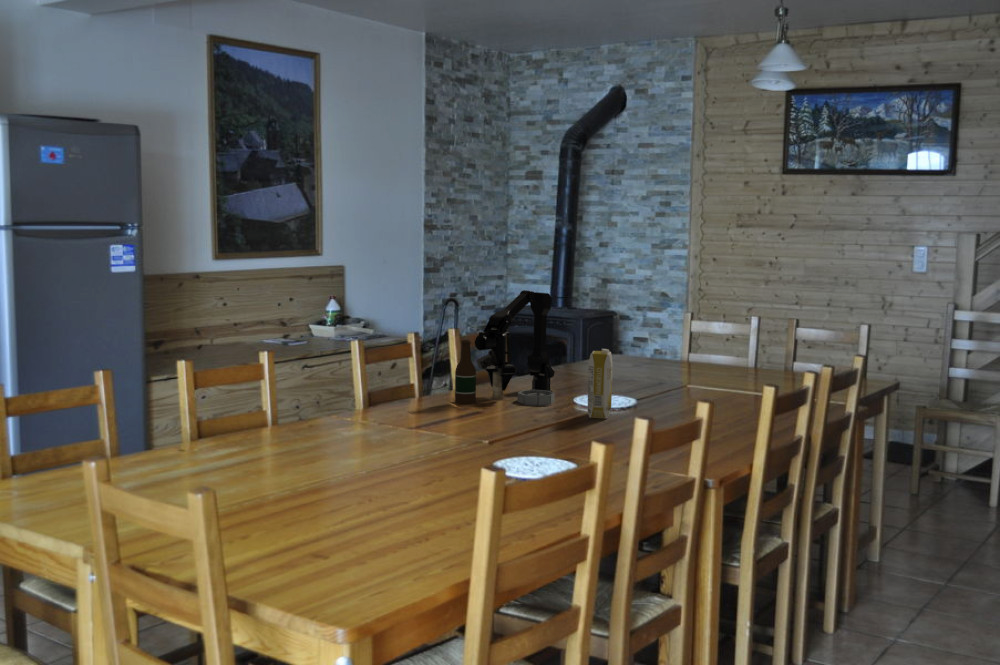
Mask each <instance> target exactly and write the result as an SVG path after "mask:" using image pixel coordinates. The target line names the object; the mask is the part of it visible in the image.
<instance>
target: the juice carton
mask: <svg viewBox="0 0 1000 665" xmlns="http://www.w3.org/2000/svg"><path fill="white" fill-rule="evenodd" d="M587 367H588V370H587V374H588V377H587V380H588V381H587V413H588V418H590V419H601V420H603V419H604V420H605V419H608V418H609V415H610V413H611V409H612V397H613V395H612V394H613V393H612V392H613V391H612V390H613V355H612V352H611V351H610V349H607V348H601V350H592V352H591V353H590V355H589V359H588V366H587Z"/></svg>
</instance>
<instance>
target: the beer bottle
mask: <svg viewBox="0 0 1000 665" xmlns="http://www.w3.org/2000/svg"><path fill="white" fill-rule="evenodd" d="M460 344H461V348H460V349H461V350H460V359H459V362H458V364H457V365H456V368H455V372H454V374H455V375H454V378H455V379H454V402H455V404H459V405H473V404H475V403H476V400H477V399H476V398H477V371H476V370H477V369H476V367H475V365H474V364H473V362H472V354H471V353H472V351H471V344H472V341H471V340H470V339H461V341H460Z"/></svg>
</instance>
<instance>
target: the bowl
mask: <svg viewBox="0 0 1000 665" xmlns="http://www.w3.org/2000/svg"><path fill="white" fill-rule="evenodd" d="M551 391H552V390H551ZM551 391H547V390H531V389H526V390H525V389H524V390H520V391H518V392H517V403H519V404H521V405H522V404H523V405H524V406H525V405H526V406H536V408H542V407H541V406H548V407H551V406H552V404H553V403H555V400H556V399H555V397H556V394H555V392H553V391H552V392H551Z"/></svg>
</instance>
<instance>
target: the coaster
mask: <svg viewBox="0 0 1000 665" xmlns="http://www.w3.org/2000/svg"><path fill="white" fill-rule="evenodd" d="M482 398H484V399H486V400H489V401H491V402H499V401H510V400H511V401H512V400H514V398H511V397H508V396H506V395H503V399H494V398H493V395H491V396H482Z"/></svg>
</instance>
